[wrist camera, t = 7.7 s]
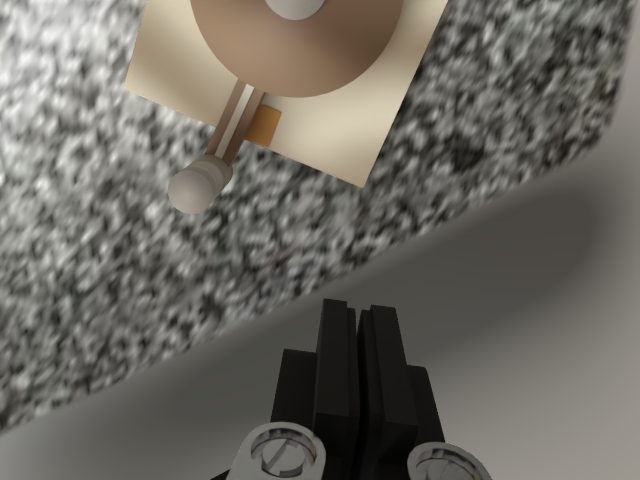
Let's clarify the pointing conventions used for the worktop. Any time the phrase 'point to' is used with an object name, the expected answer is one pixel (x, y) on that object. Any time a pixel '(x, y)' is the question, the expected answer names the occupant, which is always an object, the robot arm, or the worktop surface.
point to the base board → (277, 111)
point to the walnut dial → (277, 68)
